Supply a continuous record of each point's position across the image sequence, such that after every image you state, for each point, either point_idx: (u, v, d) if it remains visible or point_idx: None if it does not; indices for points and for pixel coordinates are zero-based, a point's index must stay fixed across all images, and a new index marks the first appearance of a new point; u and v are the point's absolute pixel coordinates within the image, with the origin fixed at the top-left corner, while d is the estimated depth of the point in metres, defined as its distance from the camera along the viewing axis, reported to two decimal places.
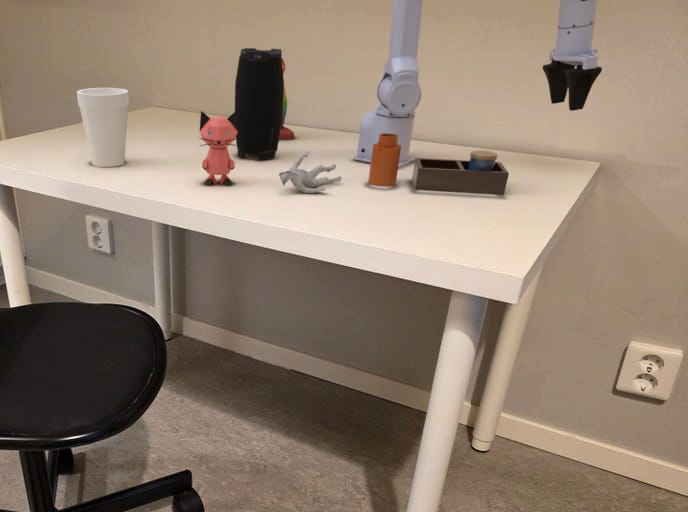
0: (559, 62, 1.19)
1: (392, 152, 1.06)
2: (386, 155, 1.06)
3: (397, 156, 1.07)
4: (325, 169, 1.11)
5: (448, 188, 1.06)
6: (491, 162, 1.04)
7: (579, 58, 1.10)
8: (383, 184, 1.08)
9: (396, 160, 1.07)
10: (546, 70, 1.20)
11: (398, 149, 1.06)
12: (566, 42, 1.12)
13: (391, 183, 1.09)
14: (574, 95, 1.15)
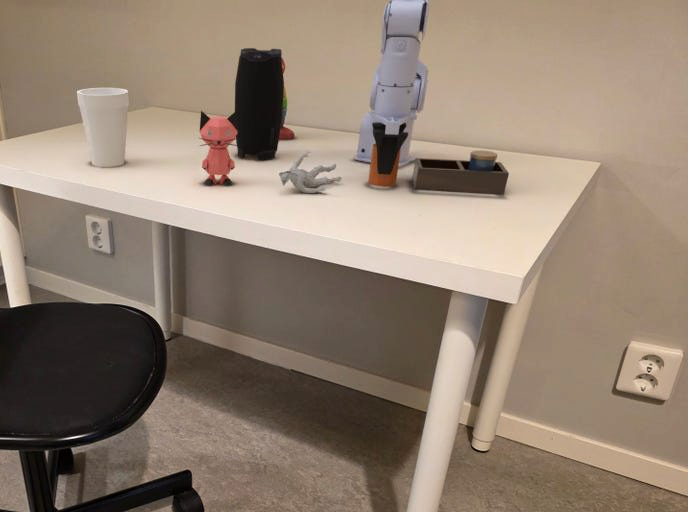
0: None
1: None
2: None
3: (397, 156, 1.07)
4: (325, 169, 1.11)
5: (448, 188, 1.06)
6: (491, 162, 1.04)
7: (384, 120, 1.00)
8: (383, 184, 1.08)
9: (396, 160, 1.07)
10: (373, 128, 1.09)
11: None
12: (380, 101, 1.02)
13: (391, 183, 1.09)
14: (381, 158, 1.06)
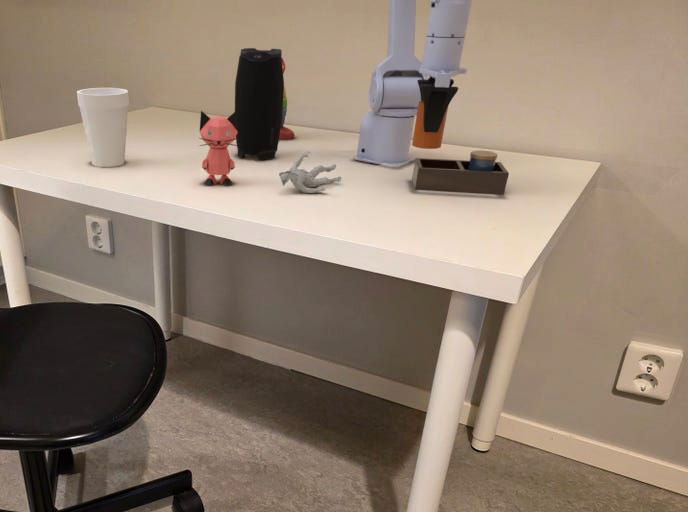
0: (433, 79, 1.04)
1: None
2: None
3: None
4: (325, 169, 1.11)
5: (448, 188, 1.06)
6: (491, 162, 1.04)
7: (434, 73, 0.96)
8: (429, 143, 1.04)
9: None
10: (418, 85, 1.05)
11: None
12: (429, 53, 0.98)
13: (437, 142, 1.04)
14: (428, 114, 1.01)
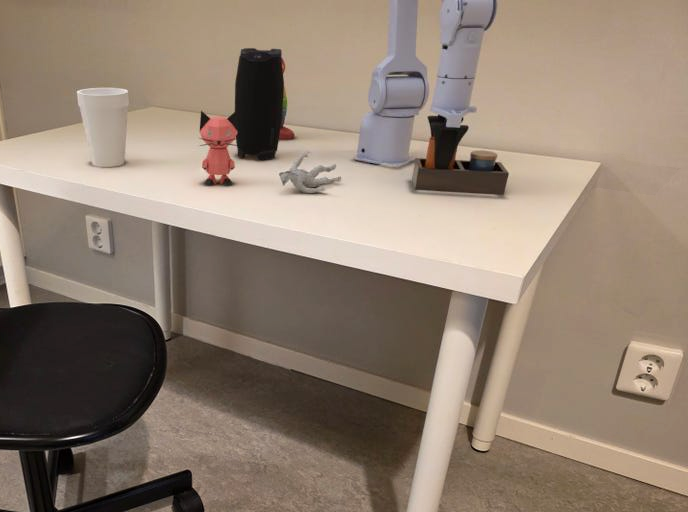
0: (443, 116, 1.06)
1: None
2: None
3: None
4: (325, 169, 1.11)
5: (448, 188, 1.06)
6: (491, 162, 1.04)
7: (445, 113, 0.98)
8: None
9: None
10: (429, 121, 1.07)
11: None
12: (440, 93, 1.00)
13: None
14: (439, 152, 1.04)
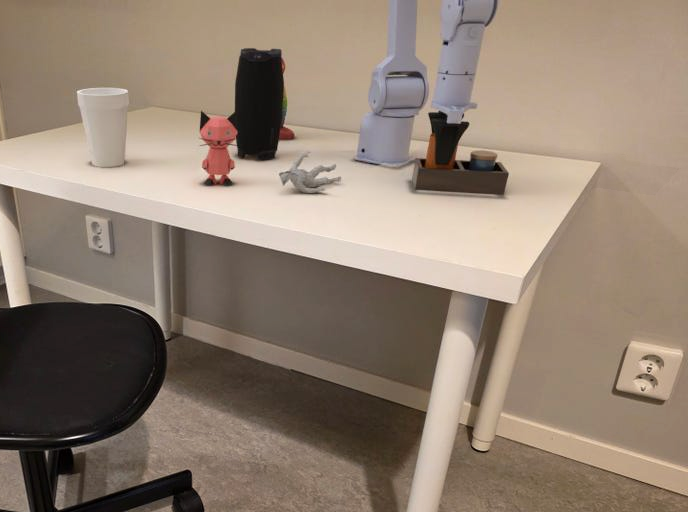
0: (444, 112, 1.06)
1: None
2: None
3: None
4: (325, 169, 1.11)
5: (448, 188, 1.06)
6: (491, 162, 1.04)
7: (446, 109, 0.98)
8: None
9: None
10: (429, 118, 1.07)
11: None
12: (440, 89, 1.00)
13: None
14: (439, 148, 1.03)
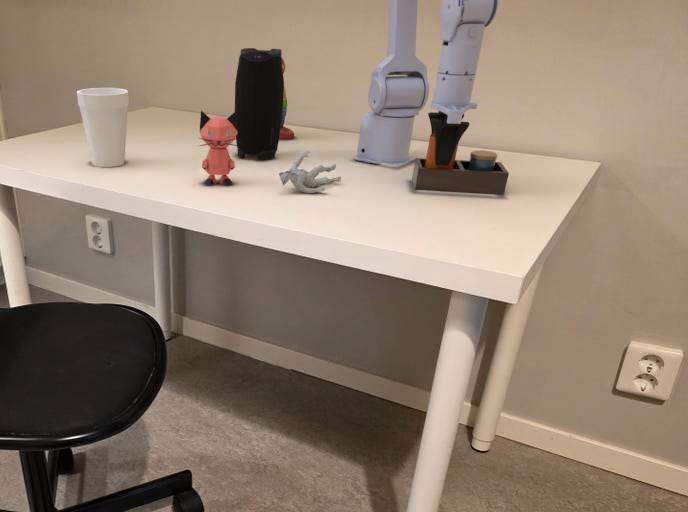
0: (444, 112, 1.06)
1: None
2: None
3: None
4: (325, 169, 1.11)
5: (448, 188, 1.06)
6: (491, 162, 1.04)
7: (446, 109, 0.98)
8: None
9: None
10: (429, 118, 1.07)
11: None
12: (440, 89, 1.00)
13: None
14: (439, 148, 1.03)
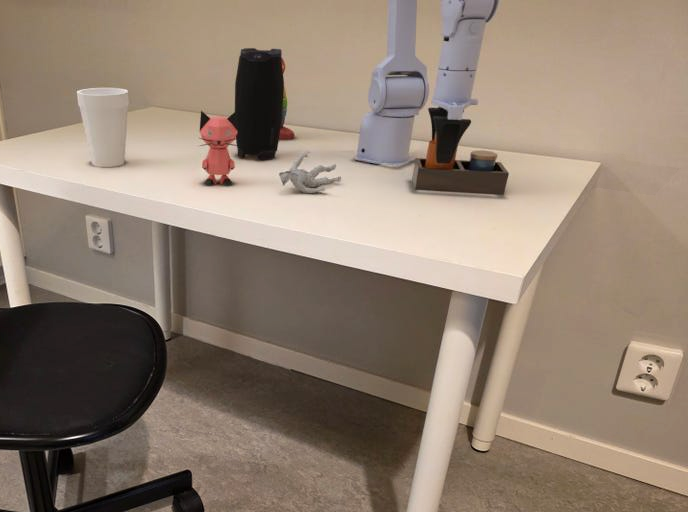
0: (444, 107, 1.07)
1: None
2: None
3: (454, 153, 1.05)
4: (325, 169, 1.11)
5: (448, 188, 1.06)
6: (491, 162, 1.04)
7: (446, 105, 0.98)
8: None
9: (453, 157, 1.05)
10: (429, 113, 1.08)
11: None
12: (441, 85, 1.00)
13: None
14: (441, 146, 1.02)
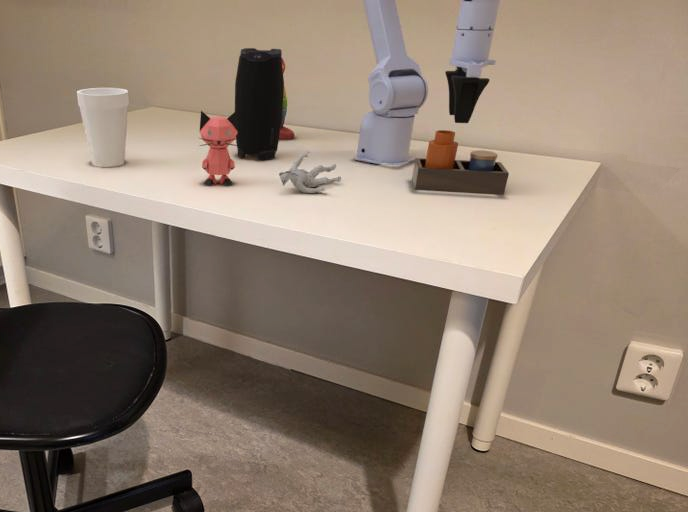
0: (461, 70, 1.09)
1: (449, 149, 1.04)
2: (443, 152, 1.04)
3: (454, 153, 1.05)
4: (325, 169, 1.11)
5: (448, 188, 1.06)
6: (491, 162, 1.04)
7: (465, 64, 1.00)
8: None
9: (453, 157, 1.05)
10: (446, 76, 1.10)
11: (455, 146, 1.04)
12: (459, 45, 1.02)
13: None
14: (459, 106, 1.04)
